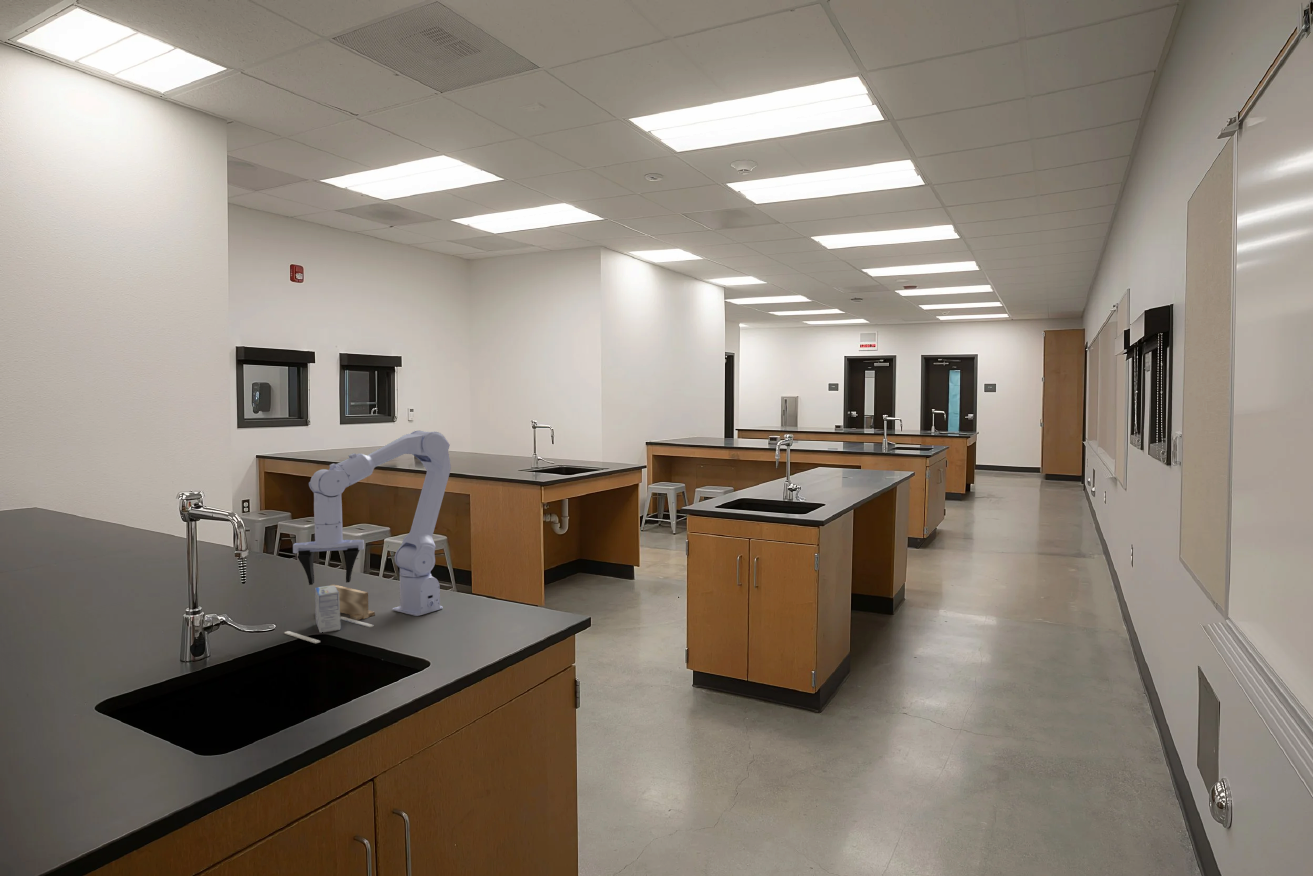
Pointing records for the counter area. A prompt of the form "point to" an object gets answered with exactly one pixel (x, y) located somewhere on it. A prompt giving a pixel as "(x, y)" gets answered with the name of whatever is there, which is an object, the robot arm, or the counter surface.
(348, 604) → the wooden board with feet
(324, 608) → the medicine box
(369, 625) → the tape marks
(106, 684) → the counter surface
